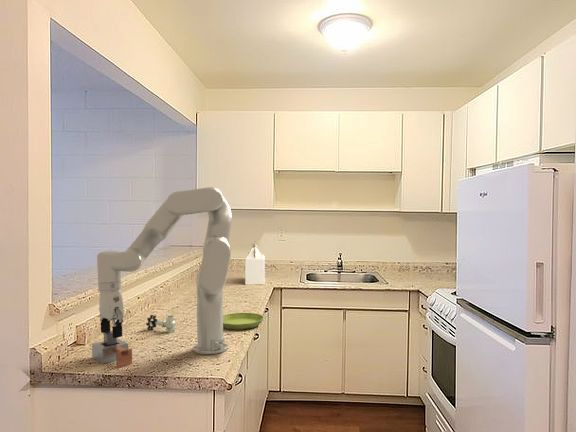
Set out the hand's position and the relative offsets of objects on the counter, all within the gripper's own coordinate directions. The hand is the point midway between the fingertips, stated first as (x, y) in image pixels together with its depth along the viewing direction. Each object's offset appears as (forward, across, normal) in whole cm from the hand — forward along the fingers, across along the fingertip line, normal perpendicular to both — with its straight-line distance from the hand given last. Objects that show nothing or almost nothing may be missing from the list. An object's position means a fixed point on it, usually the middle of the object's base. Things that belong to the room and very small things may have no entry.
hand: (111, 334), depth 157 cm
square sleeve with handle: (+8, -3, +1) cm, 9 cm away
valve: (+9, +17, -30) cm, 35 cm away
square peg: (+8, 0, +1) cm, 8 cm away
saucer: (+10, +1, -59) cm, 60 cm away
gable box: (+10, +81, -138) cm, 160 cm away
